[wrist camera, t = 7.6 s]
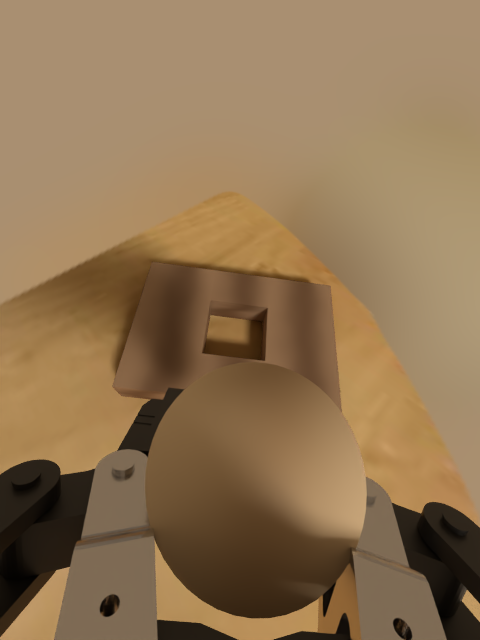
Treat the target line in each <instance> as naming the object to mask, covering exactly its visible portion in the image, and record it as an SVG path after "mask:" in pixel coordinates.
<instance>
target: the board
mask: <svg viewBox="0 0 480 640" xmlns="http://www.w3.org/2000/svg"><path fill="white" fill-rule="evenodd" d="M210 315H215V316H223V317H231V318H238V319H246V320H254V321H262V322H263V328H262V346H261V360H253V359H245V358H236V357H228V356H220V355H212V354H204V350H205V344H206V338H207V332H208V326H209V319H210ZM246 362H258V363H268V364H273V365H277V366H281V367H284V368H287V369H289V370H292V371H294V372H296V373H298V374H300V375H302V376H303V377H305V378H307V379H308V380H310V381H311V382H313V383H314V384H315V385H317V386H318V387H319V388H320V389H321V390H322V391H324V392H325V393H326V394H327V395H328V396H329V397H330V398H331V400H332V401H333V402H334V403H335V404H336V406H337V407H338V408H339V409H340V411H341V412H342V409H341V398H340V387H339V376H338V365H337V353H336V342H335V331H334V320H333V309H332V297H331V286H329V285H321V284H314V283H306V282H299V281H291V280H284V279H277V278H269V277H262V276H254V275H247V274H239V273H232V272H225V271H217V270H210V269H202V268H195V267H188V266H180V265H173V264H165V263H158V262H152V263H151V267H150V270H149V273H148V276H147V279H146V282H145V285H144V289H143V292H142V295H141V298H140V301H139V304H138V307H137V310H136V314H135V317H134V320H133V323H132V326H131V329H130V332H129V336H128V339H127V342H126V345H125V348H124V351H123V354H122V358H121V361H120V364H119V367H118V370H117V373H116V376H115V379H114V383H113V386H112V387H113V388H114V389H115V390H116V391H117V392H118V393H119V394H120V395H121V396H127V397H135V398H144V399H160V400H163V398H164V396H165V394H166V392H167V389H168V388H169V387H170V388H178V389H186V388H187V387H188V386H189V385H191V384H192V383H193V382H194V381H196V380H197V379H199V378H200V377H202V376H204V375H205V374H207V373H209V372H211V371H214V370H216V369H218V368H221V367H224V366H227V365H232V364H237V363H246Z"/></svg>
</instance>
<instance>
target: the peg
mask: <svg viewBox="0 0 480 640" xmlns="http://www.w3.org/2000/svg"><path fill="white" fill-rule="evenodd" d="M145 497H146V508H147V513H148V518H149V523H150V527H151V528H154V538H155V541H156V544H157V546H158V548H159V550H160V552H161V554H162V556H163V558H164V560H165V561H166V563H167V564H168V566H169V567H170V569H171V570H172V572H173V573H174V575H175V576H176V577H177V578H178V579H179V580H180V581H181V582H182V583H183V585H184V586H185V587H186V588H187V589H188V590H190V591H191V592H192V593H193V594H194V595H196V596H197V597H198V598H199V599H201V600H202V601H204V602H206V603H207V604H209V605H211V606H213V607H214V608H216V609H218V610H221V611H224V612H227V613H229V614H232V615H235V616H241V617H247V618H272V617H277V616H282V615H287V614H289V613H292V612H294V611H297V610H299V609H302V608H304V607H305V606H307V605H309V604H310V603H312V602H314V601H315V600H317V599H318V598H319V597H320V596H322V595H323V594H324V593H325V592H326V591H327V590H328V589H330V588H331V587H332V585H333V584H334V583H335V582H336V581H337V579H338V578H339V577H340V576H341V575H342V573H343V572H344V570H345V568H346V567H347V565H348V564H349V559H350V548H351V547H353V548H356V547H357V545H358V542H359V539H360V536H361V532H362V529H363V524H364V518H365V513H366V498H367V490H366V476H365V470H364V464H363V460H362V456H361V452H360V449H359V446H358V443H357V441H356V438H355V436H354V433H353V431H352V429H351V427H350V425H349V424H348V422H347V420H346V418H345V417H344V415H343V414H342V412H341V411H340V409H339V408H338V407H337V406H336V404H335V403H334V402H333V401H332V400H331V398H330V397H329V396H328V395H327V394H326V393H325V392H324V391H322V390H321V389H320V388H319V387H318V386H317V385H315V384H314V383H313V382H311V381H310V380H308V379H307V378H305V377H303V376H302V375H300V374H298V373H296V372H294V371H292V370H289V369H287V368H284V367H281V366H277V365H273V364H268V363H258V362H246V363H237V364H232V365H227V366H224V367H221V368H218V369H216V370H214V371H211V372H209V373H207V374H205V375H204V376H202V377H200V378H199V379H197V380H196V381H194V382H193V383H192V384H191V385H189V386H188V387H187V388H186V389H185V390H184V391H183V392H182V393H181V394H180V395H179V396H178V397H177V398H176V399H175V400H174V402H173V403H172V404H171V406H170V407H169V408H168V410H167V411H166V413H165V415H164V416H163V418H162V420H161V422H160V423H159V425H158V428H157V430H156V433H155V435H154V437H153V440H152V444H151V447H150V451H149V454H148V460H147V466H146V474H145Z"/></svg>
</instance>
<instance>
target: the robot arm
mask: <svg viewBox="0 0 480 640" xmlns="http://www.w3.org/2000/svg"><path fill="white" fill-rule="evenodd" d="M184 390H185V389H178V388H170V387H169V388H168V389H167V392H166V394H165V396H164V398H163V400H160V399H151V400H150V401H148V402H147V403H146V404H144V405H143V406H142V408H141V409H140V411H139V413H138V416H137V417H136V418H135V420H134V422H133V424H132V425H131V427H130V429H129V431H128V433H127V434H126V436H125V438H124V440H123V441H122V443H121V445H120V447H119V449H118V450H117V451H115V452H113V453H111V454H109V455H107V456H105V457H104V458H103V459H102V460H101V461H100V462H99V463H98V465H97V466H96V468H95V469H92V470H89V471H85V472H78V473H72V474H65V475H60V468H59V466H58V465H57V464H56V463H54V462H52V461H49V460H32V461H27V462H24V463H21V464H18V465H16V466H14V467H12V468H10V469H8V470H7V471H5V472H4V473H2V474H1V475H0V637H1V636H2V634H3V633H4V632H5V631H6V630H7V629H8V627H9V626H10V625H11V624H12V623H13V621H14V620H15V619H16V618H17V617H18V615H19V614H20V613H21V612H22V611H23V610H24V608H25V607H26V606H27V605H28V604H29V602H30V601H31V600H32V599H33V598H34V597H35V595H36V594H37V593H38V592H39V591H40V589H41V588H42V587H43V586H44V585H45V584H46V582H47V581H48V580H49V579H50V578H51V576H52V575H53V574H54V573H55V571H56V570H58V569H62V568H66V567H70V569H69V574H68V579H67V583H66V588H65V592H64V597H63V601H62V606H61V611H60V615H59V620H58V624H57V629H56V633H55V638H54V640H237V639H235V638H233V637H231V636H228V635H226V634H224V633H221V632H219V631H217V630H215V629H212V628H210V627H208V626H206V625H203V624H201V623H191V622H178V621H165V620H157V607H156V576H155V545H154V528H151V527H150V523H149V518H148V513H147V508H146V497H145V474H146V466H147V460H148V454H149V451H150V447H151V444H152V440H153V437H154V435H155V433H156V430H157V428H158V425H159V423H160V422H161V420H162V418H163V416H164V415H165V413H166V411H167V410H168V408H169V407H170V406H171V404H172V403H173V402H174V400H175V399H176V398H177V397H178V396H179V395H180V394H181V393H182V392H183V391H184ZM366 490H367V498H366V513H365V518H364V524H363V529H362V532H361V536H360V539H359V542H358V545H357V547H356V548H353V547H351V548H350V559H349V564H348V565H347V567H346V568H345V570H344V572H343V573H342V575H341V576H340V577H339V578H338V579H337V581H336V582H335V583H334V584H333V585H332V587H331V588H330V589H328V590H327V591H326V592H325V593H324V594H323V595H322V596H320V597H319V606H318V633H317V632H305V631H301V632H297V633H294V634H291V635H287V636H284V637H281V638H277V639H274V640H480V622H479V621H478V620H477V619H476V617H475V616H474V615H473V614H472V613H471V612H470V610H469V609H468V608H467V607H466V606H465V604H464V603H463V602H462V599H463V596H464V594H465V592H466V590H468V591H469V592H470V593H471V594H472V595H473V596H474V598H475V599H476V600H477V601H478V602H479V603H480V528H479V527H478V526H477V525H476V524H475V523H474V522H473V521H472V520H470V519H469V518H468V517H467V516H465V515H464V514H463V513H461V512H459V511H458V510H456V509H454V508H452V507H450V506H448V505H445V504H442V503H438V502H430V503H427V504H426V505H425V506H424V508H423V511H422V513H421V514H420V513H418V512H415V511H412V510H409V509H407V508H404V507H401V506H398V505H396V504H394V503H392V502H391V499H390V497H389V495H388V494H387V493H386V491H385V490H384V489H383V488H382V487H381V486H380V485H379V484H377V483H376V482H375V481H373V480H371V479H369V478H367V477H366Z"/></svg>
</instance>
